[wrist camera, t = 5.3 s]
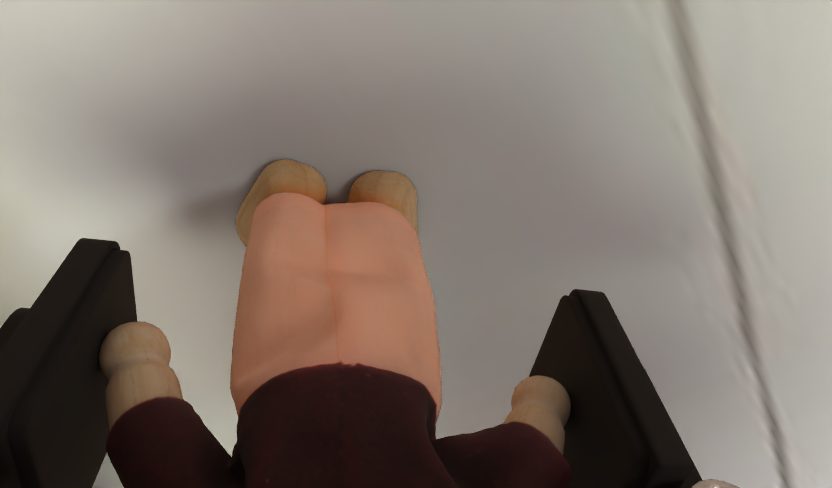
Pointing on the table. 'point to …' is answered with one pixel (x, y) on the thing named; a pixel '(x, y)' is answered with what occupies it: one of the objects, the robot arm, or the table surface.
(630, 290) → the table surface
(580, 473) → the robot arm
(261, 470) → the grandmother figurine
